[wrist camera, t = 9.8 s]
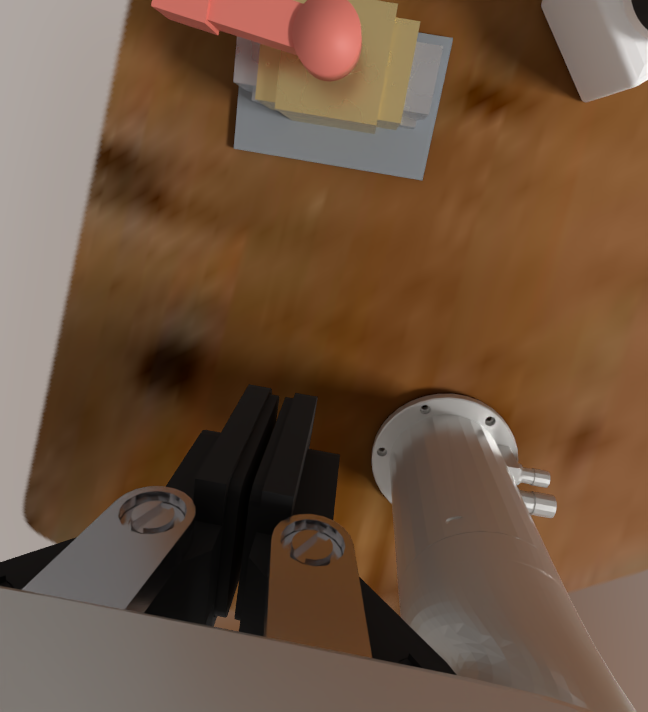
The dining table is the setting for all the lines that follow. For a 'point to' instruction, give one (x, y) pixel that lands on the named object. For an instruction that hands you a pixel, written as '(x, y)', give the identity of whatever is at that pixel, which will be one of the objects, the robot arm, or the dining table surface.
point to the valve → (349, 77)
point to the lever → (282, 28)
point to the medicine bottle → (601, 43)
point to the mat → (342, 134)
